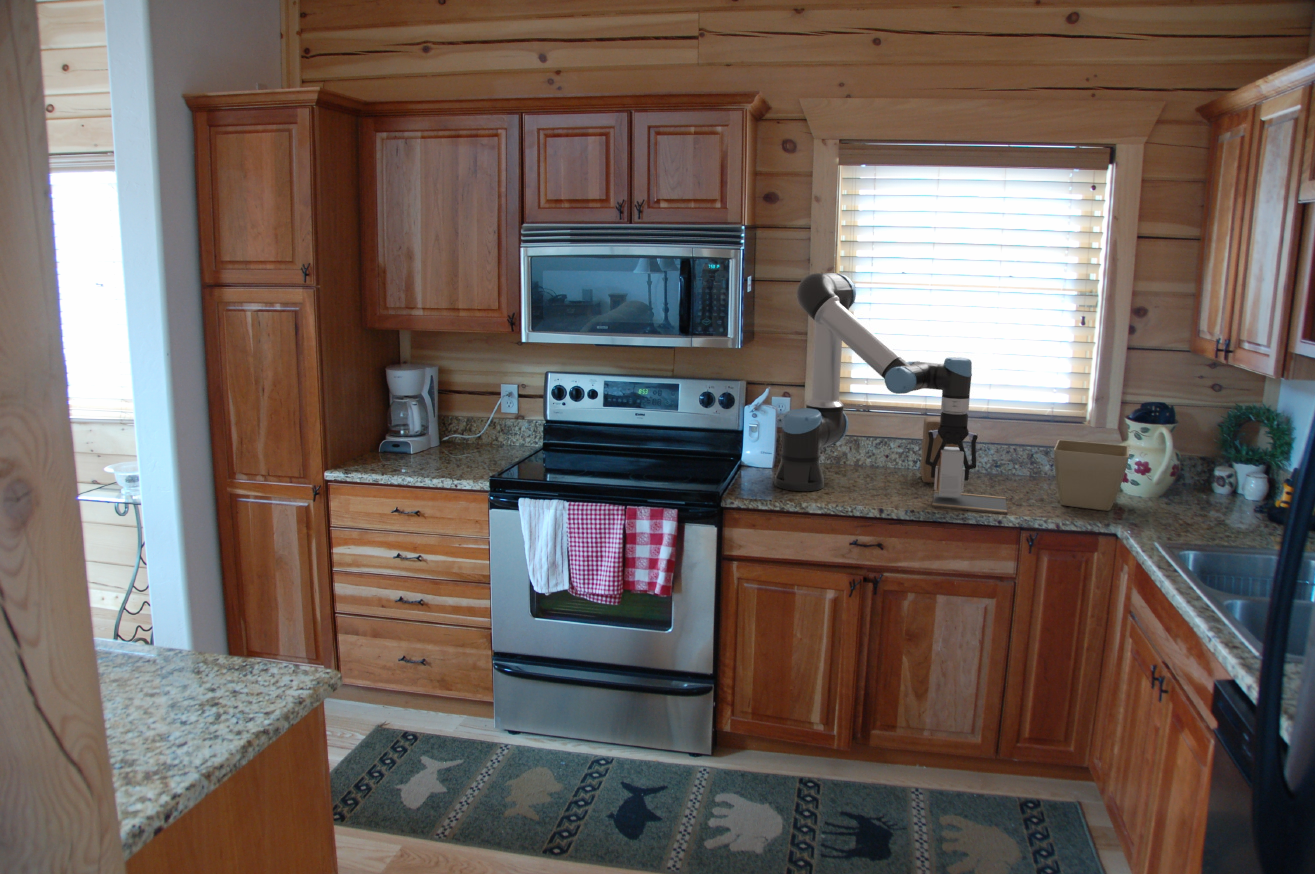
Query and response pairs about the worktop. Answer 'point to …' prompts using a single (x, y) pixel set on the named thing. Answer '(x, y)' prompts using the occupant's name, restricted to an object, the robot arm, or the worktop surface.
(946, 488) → the small box
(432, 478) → the worktop surface
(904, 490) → the worktop surface
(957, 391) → the robot arm
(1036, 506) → the worktop surface
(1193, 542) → the worktop surface
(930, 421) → the wooden block
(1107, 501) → the flower pot
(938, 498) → the grey flat board
